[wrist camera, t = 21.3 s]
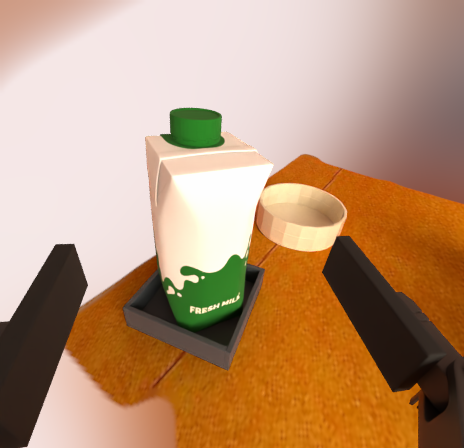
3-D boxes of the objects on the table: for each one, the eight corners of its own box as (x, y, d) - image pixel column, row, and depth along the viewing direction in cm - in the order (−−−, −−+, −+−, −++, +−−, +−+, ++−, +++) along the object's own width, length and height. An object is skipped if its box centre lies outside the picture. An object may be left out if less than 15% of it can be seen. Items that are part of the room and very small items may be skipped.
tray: (126, 325, 27) (122, 307, 26) (182, 258, 36) (181, 241, 35) (228, 370, 25) (230, 353, 23) (261, 285, 34) (264, 268, 32)
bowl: (245, 235, 42) (248, 211, 39) (267, 197, 53) (271, 176, 51) (335, 262, 38) (346, 238, 36) (339, 215, 50) (347, 194, 47)
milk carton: (220, 265, 35) (232, 106, 24) (254, 319, 29) (294, 136, 17) (154, 284, 32) (131, 107, 20) (176, 351, 25) (161, 145, 14)
